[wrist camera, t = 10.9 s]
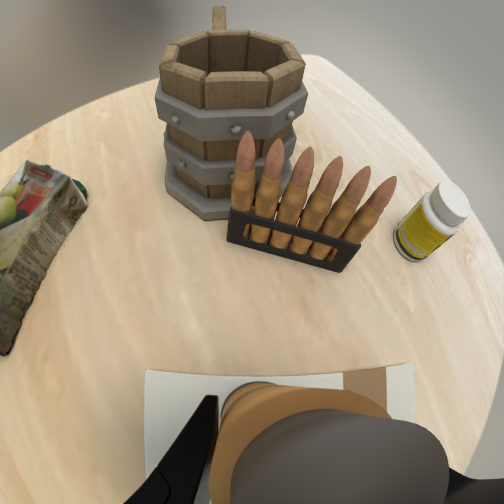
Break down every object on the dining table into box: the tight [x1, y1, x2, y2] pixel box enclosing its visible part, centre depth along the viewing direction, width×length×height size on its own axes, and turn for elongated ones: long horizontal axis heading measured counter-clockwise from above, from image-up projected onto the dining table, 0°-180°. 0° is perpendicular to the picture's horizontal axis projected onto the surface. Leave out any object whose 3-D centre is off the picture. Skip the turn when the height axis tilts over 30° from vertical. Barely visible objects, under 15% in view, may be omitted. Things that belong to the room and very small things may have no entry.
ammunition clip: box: [227, 131, 397, 273], centre depth 20 cm, size 11×2×12 cm, turn 75°
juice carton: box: [0, 159, 88, 356], centre depth 20 cm, size 20×10×6 cm, turn 159°
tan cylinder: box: [208, 381, 449, 504], centre depth 8 cm, size 4×4×13 cm
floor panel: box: [144, 363, 415, 504], centre depth 16 cm, size 18×22×1 cm
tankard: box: [155, 6, 308, 220], centre depth 24 cm, size 20×13×15 cm, turn 7°
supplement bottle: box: [394, 181, 470, 261], centre depth 23 cm, size 5×5×8 cm
